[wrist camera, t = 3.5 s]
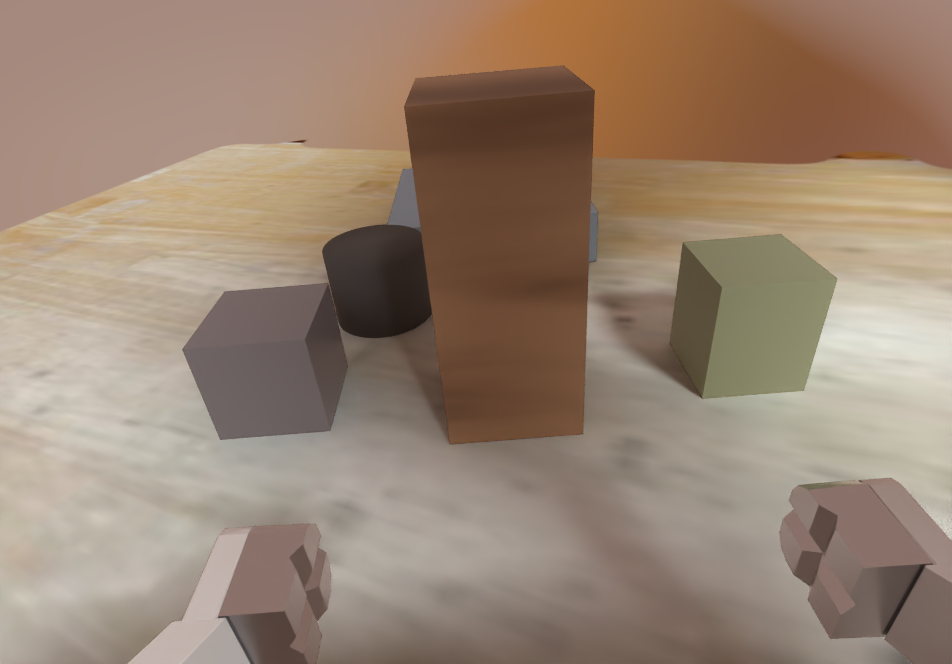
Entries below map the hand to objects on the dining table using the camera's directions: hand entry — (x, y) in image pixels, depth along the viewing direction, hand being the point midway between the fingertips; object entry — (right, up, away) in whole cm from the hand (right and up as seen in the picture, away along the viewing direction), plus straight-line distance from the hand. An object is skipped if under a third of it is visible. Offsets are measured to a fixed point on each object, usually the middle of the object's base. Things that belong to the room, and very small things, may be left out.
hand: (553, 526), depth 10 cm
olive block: (+10, +2, +14) cm, 17 cm away
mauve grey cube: (-9, 0, +15) cm, 17 cm away
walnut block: (0, +1, +14) cm, 14 cm away
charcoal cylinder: (-6, +4, +20) cm, 22 cm away
